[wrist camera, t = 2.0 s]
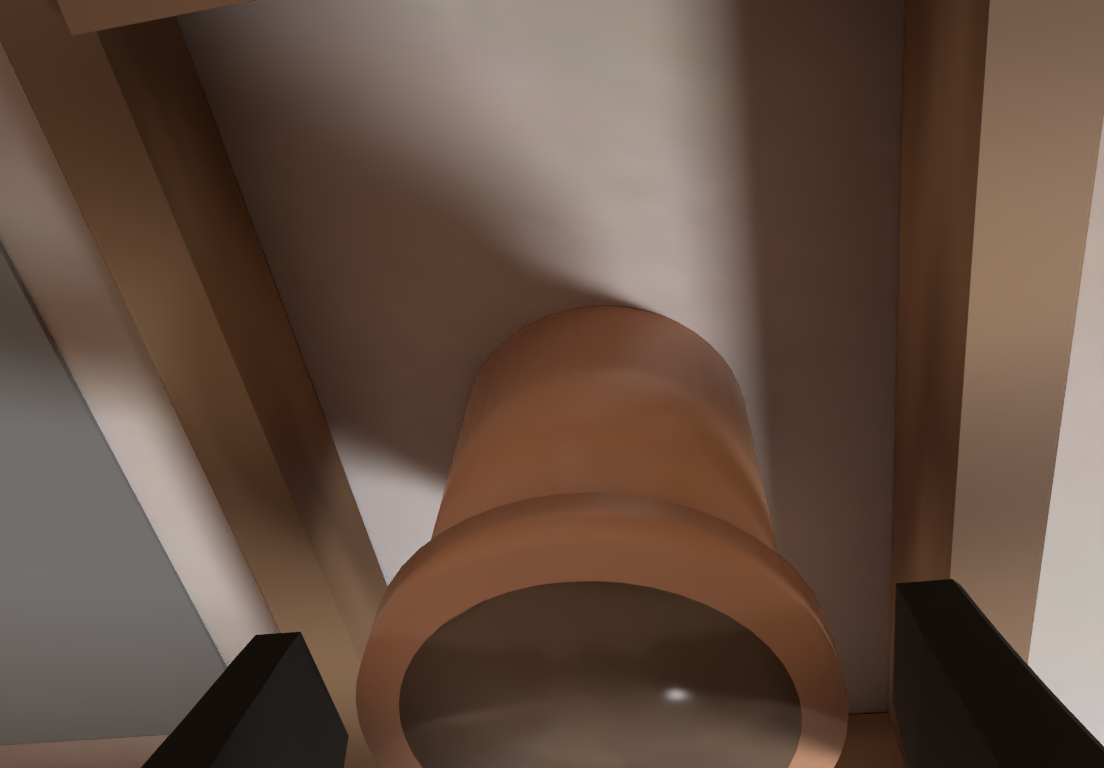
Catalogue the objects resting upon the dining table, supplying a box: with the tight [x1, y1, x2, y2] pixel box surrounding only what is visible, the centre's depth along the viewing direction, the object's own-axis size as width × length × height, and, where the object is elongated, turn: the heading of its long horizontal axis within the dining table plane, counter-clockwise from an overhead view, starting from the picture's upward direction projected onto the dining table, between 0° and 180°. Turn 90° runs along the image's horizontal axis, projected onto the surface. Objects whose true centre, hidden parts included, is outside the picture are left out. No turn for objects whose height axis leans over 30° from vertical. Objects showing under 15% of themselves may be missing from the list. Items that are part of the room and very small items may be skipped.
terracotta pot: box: [356, 306, 849, 768], centre depth 13 cm, size 6×6×6 cm
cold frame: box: [0, 0, 1104, 768], centre depth 14 cm, size 18×12×3 cm, turn 10°
